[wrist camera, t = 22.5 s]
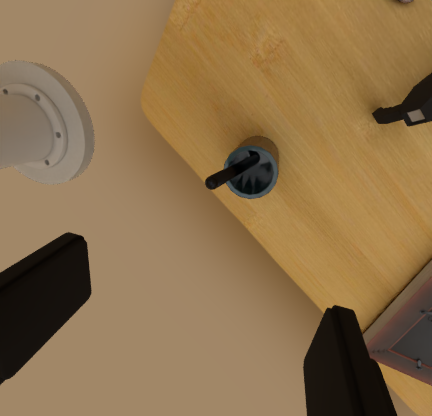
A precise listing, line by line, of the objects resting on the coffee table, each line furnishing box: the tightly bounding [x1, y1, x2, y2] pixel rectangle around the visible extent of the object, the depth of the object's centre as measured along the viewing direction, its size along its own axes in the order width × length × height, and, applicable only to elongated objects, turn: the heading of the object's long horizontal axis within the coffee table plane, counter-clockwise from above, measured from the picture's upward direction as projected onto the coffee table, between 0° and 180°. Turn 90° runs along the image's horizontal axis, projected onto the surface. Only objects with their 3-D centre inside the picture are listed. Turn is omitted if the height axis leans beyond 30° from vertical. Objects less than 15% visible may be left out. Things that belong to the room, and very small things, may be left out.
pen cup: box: [224, 136, 279, 199], centre depth 29 cm, size 6×6×8 cm
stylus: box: [205, 155, 260, 190], centre depth 27 cm, size 1×1×13 cm
